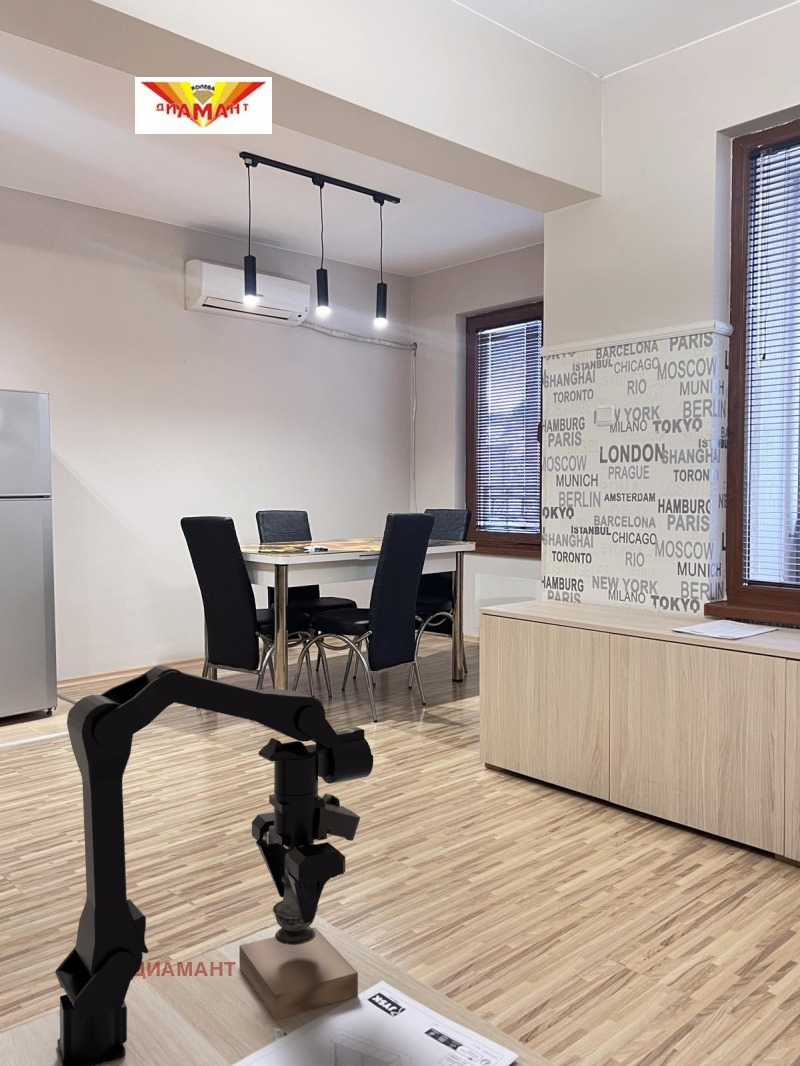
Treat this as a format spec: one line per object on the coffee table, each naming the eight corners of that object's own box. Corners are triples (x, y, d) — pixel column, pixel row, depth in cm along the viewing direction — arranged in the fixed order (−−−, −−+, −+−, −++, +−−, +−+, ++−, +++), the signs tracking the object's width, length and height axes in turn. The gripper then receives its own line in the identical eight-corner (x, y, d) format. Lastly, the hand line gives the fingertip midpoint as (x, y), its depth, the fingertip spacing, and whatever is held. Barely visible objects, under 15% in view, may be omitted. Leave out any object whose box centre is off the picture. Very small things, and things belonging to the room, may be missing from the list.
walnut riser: (275, 1019, 103) (275, 994, 103) (239, 967, 115) (239, 945, 115) (357, 996, 108) (357, 972, 108) (315, 948, 120) (315, 927, 120)
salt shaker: (263, 940, 110) (264, 847, 110) (288, 921, 115) (288, 832, 115) (303, 949, 108) (303, 854, 108) (326, 930, 113) (326, 839, 113)
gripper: (383, 800, 107) (383, 924, 107) (324, 764, 124) (324, 872, 123) (300, 813, 102) (299, 944, 102) (250, 774, 118) (250, 887, 118)
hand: (295, 908), depth 111 cm, fingers closed on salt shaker, 8 cm apart
